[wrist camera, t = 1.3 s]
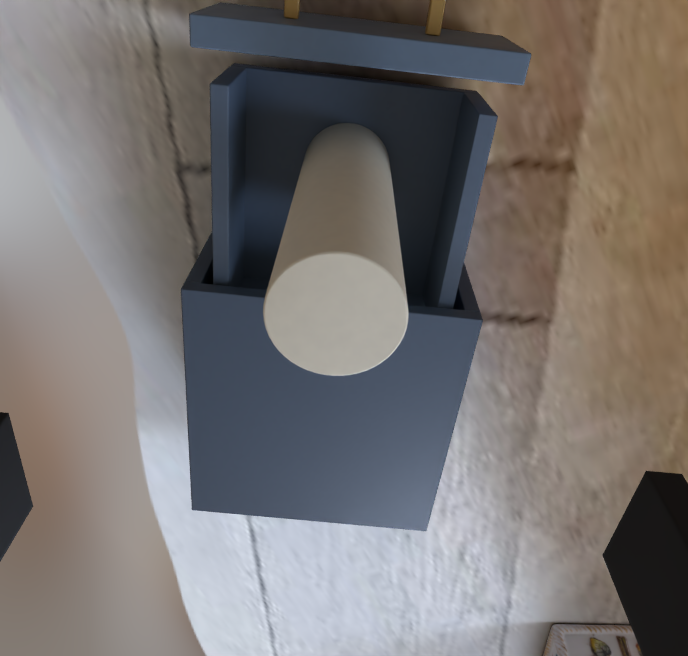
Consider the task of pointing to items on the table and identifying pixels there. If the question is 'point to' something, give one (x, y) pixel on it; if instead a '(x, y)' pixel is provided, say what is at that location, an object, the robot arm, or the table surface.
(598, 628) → the decorative jar
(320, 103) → the drawer
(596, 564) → the table surface
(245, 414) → the cabinet
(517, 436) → the table surface
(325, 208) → the candle
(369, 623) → the table surface
